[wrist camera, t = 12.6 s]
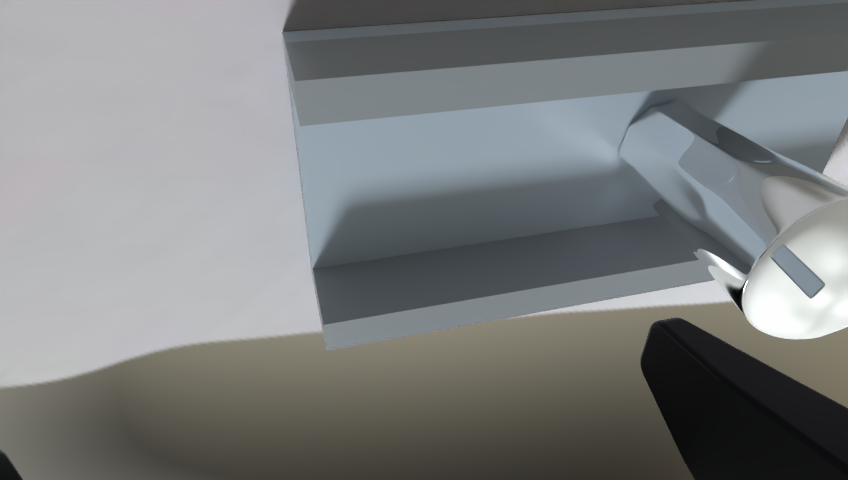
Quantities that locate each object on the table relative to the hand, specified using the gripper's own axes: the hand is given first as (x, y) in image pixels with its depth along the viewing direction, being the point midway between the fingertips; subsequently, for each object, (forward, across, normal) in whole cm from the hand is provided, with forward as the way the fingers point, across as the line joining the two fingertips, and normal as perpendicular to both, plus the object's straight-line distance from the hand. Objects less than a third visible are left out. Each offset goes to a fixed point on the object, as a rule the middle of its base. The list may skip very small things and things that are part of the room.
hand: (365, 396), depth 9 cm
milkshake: (+12, -13, +3) cm, 18 cm away
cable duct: (+13, -11, +4) cm, 17 cm away
